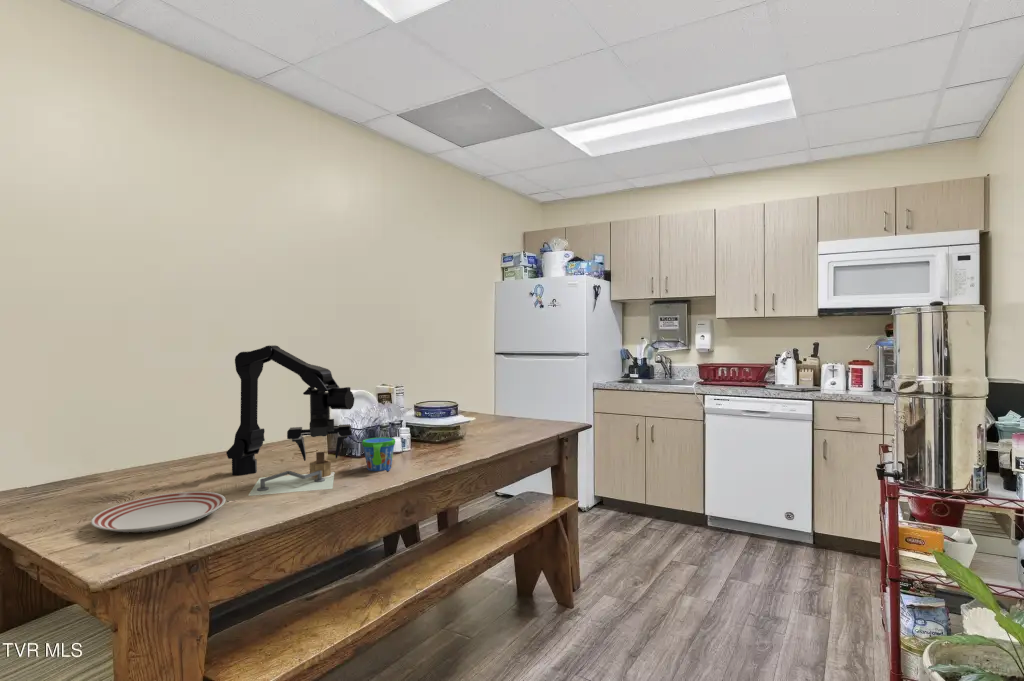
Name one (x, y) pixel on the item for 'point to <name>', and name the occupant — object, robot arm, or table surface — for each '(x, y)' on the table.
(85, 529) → the table surface
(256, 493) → the wire course
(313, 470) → the ring
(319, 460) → the peg stand
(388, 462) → the snack cup
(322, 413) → the robot arm
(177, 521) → the dinner plate
